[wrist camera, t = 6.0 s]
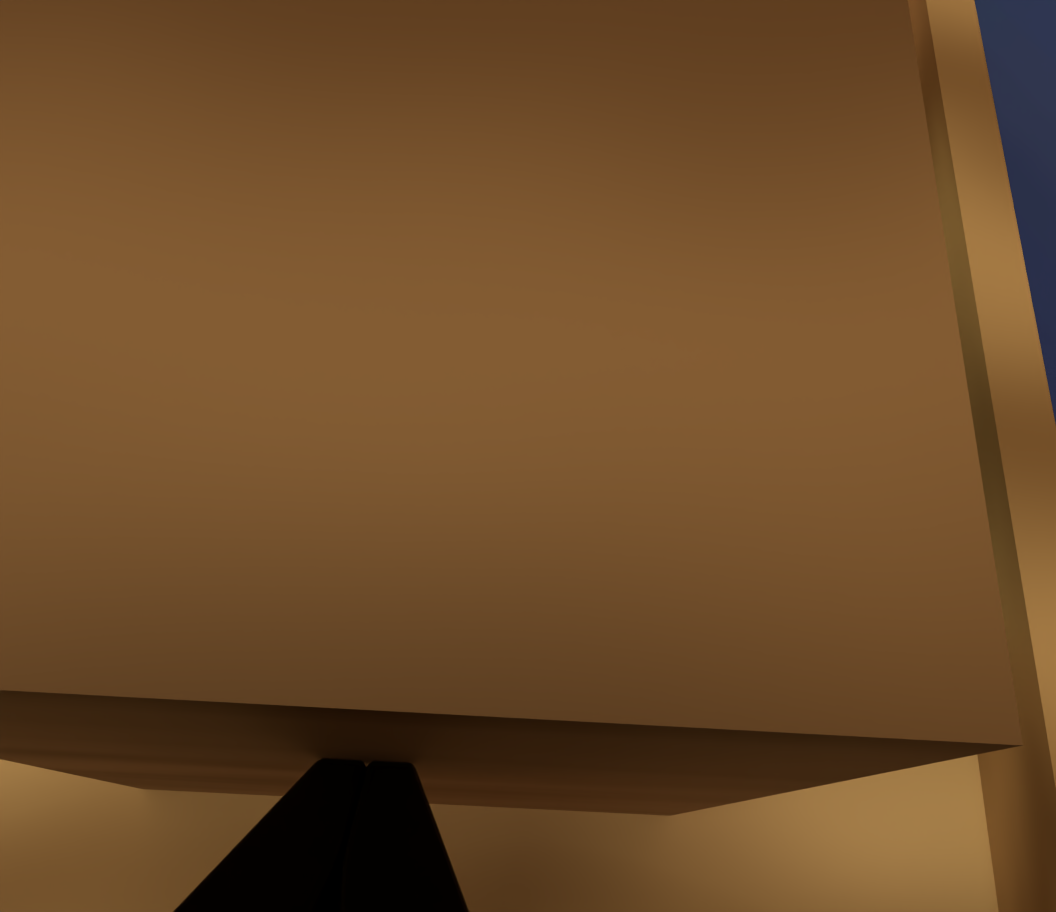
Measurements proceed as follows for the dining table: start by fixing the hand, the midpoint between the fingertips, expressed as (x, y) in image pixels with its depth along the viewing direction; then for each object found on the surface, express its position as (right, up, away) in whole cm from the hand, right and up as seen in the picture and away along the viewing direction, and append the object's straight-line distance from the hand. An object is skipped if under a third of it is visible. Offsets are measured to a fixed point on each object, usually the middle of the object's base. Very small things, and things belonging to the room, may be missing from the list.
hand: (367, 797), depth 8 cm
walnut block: (0, +1, +8) cm, 8 cm away
